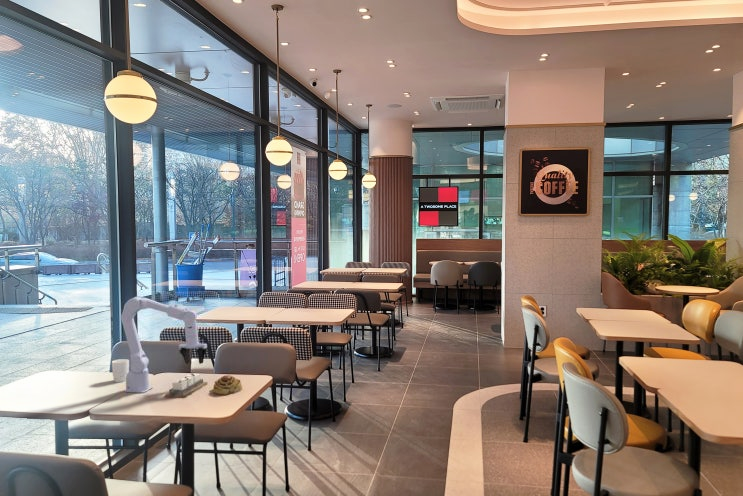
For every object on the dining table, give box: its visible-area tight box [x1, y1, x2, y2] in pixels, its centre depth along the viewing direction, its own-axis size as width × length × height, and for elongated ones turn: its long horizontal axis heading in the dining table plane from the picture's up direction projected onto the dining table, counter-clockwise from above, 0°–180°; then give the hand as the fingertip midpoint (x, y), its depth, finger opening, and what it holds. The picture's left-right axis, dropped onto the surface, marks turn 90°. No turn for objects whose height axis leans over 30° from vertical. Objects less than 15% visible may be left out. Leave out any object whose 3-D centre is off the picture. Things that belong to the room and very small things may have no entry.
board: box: [164, 378, 208, 399], centre depth 249 cm, size 10×21×3 cm, turn 170°
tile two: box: [179, 376, 194, 386], centre depth 249 cm, size 5×5×3 cm
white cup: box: [111, 358, 130, 383], centre depth 267 cm, size 8×8×10 cm
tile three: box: [185, 372, 201, 383], centre depth 255 cm, size 5×5×3 cm
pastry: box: [212, 374, 243, 396], centre depth 249 cm, size 13×15×8 cm
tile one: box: [172, 380, 187, 390], centre depth 243 cm, size 5×5×3 cm
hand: (194, 363), depth 254 cm, fingers open, 7 cm apart
